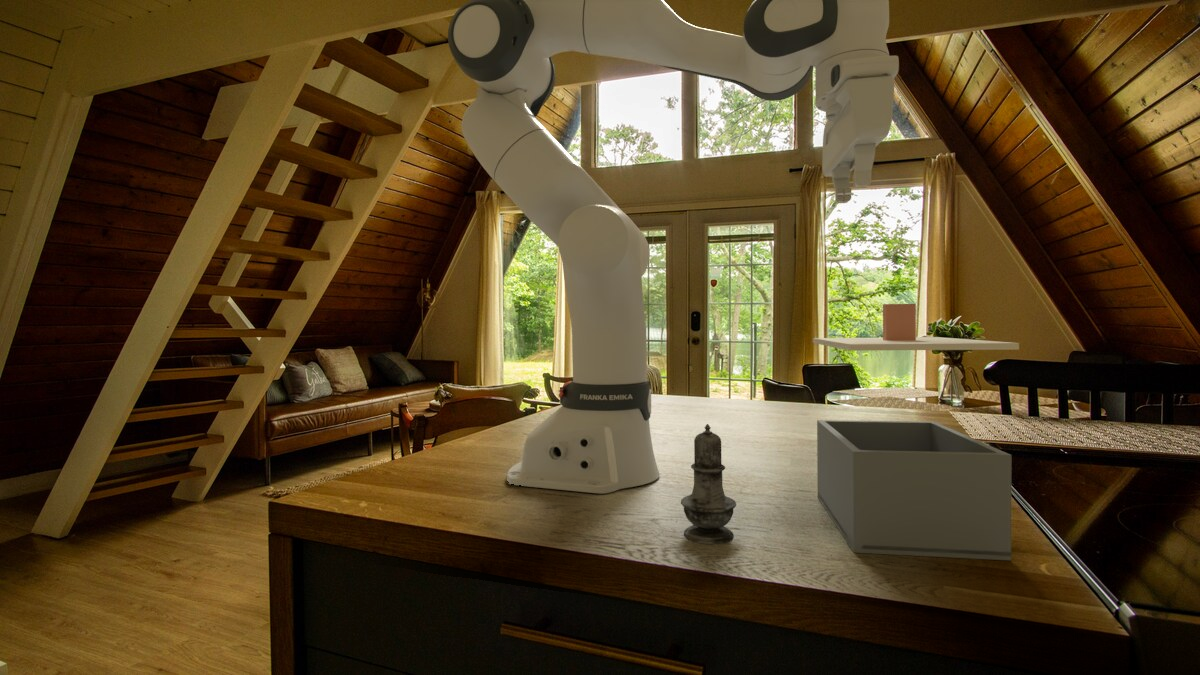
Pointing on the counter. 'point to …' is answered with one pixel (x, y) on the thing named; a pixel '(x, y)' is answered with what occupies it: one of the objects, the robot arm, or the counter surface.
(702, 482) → the salt shaker
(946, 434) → the box
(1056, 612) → the counter surface
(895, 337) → the lid
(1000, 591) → the counter surface
